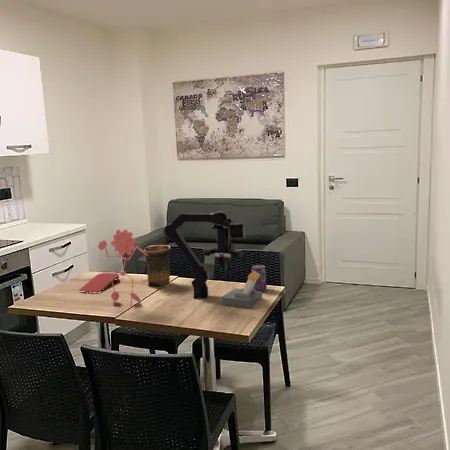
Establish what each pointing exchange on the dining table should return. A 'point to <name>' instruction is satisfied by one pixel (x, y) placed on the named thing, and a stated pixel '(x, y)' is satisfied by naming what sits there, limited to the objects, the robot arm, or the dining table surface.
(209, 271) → the robot arm
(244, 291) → the lever
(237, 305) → the box
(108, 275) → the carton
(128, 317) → the dining table surface
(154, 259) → the vessel
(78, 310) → the dining table surface
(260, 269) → the beverage can
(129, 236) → the figurine
